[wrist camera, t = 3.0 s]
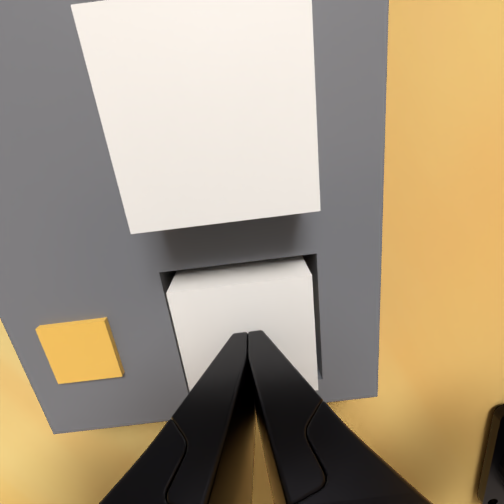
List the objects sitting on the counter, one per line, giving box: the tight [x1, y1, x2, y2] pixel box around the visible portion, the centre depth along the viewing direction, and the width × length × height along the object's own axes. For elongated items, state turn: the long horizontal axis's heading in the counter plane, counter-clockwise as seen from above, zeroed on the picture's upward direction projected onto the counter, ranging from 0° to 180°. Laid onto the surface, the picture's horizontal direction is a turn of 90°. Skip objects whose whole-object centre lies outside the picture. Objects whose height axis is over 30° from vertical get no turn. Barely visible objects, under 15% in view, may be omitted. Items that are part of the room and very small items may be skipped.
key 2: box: [166, 255, 318, 391], centre depth 10 cm, size 4×4×3 cm
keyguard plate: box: [0, 0, 389, 434], centre depth 9 cm, size 18×11×3 cm, turn 7°
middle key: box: [71, 0, 321, 234], centre depth 7 cm, size 4×4×3 cm
